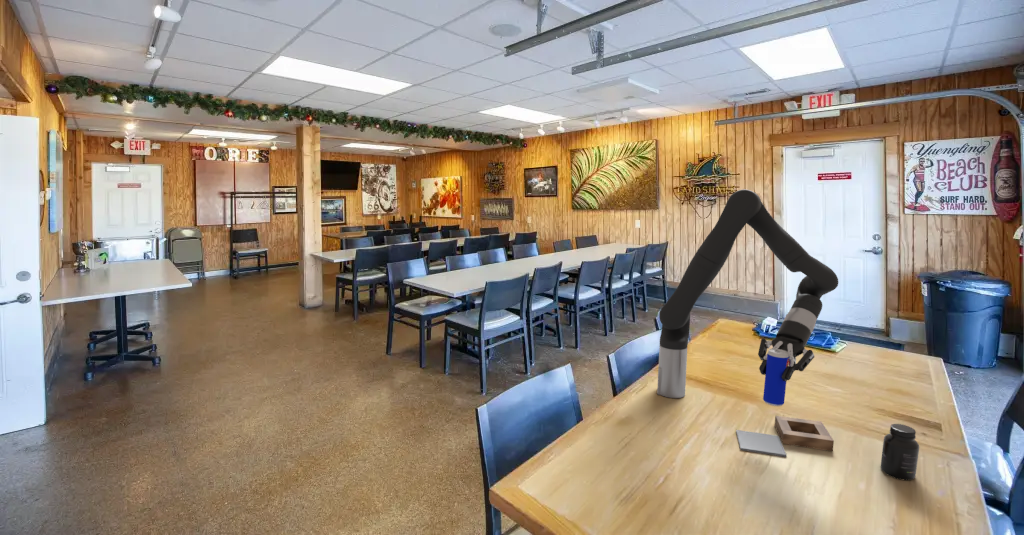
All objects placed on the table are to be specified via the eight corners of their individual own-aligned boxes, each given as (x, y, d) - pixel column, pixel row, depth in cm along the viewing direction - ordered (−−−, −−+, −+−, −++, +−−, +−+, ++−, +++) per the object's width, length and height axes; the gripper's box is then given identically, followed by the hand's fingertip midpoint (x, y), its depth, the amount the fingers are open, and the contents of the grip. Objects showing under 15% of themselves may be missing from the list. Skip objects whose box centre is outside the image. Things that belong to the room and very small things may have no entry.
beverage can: (786, 407, 129) (792, 354, 127) (766, 406, 130) (771, 353, 128) (780, 399, 134) (785, 348, 132) (760, 398, 135) (765, 347, 133)
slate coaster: (740, 449, 129) (740, 447, 129) (736, 431, 139) (736, 429, 139) (786, 457, 126) (786, 454, 126) (778, 437, 136) (778, 435, 136)
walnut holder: (782, 443, 132) (783, 433, 132) (774, 424, 144) (775, 415, 143) (832, 451, 129) (833, 440, 128) (820, 431, 140) (821, 421, 139)
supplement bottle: (873, 466, 121) (878, 421, 119) (898, 465, 122) (903, 420, 120) (897, 482, 114) (902, 435, 113) (923, 480, 115) (929, 433, 113)
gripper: (767, 314, 139) (742, 361, 134) (822, 325, 128) (797, 377, 122) (774, 329, 143) (750, 375, 138) (828, 341, 132) (804, 392, 126)
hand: (772, 376), depth 130 cm, fingers closed on beverage can, 5 cm apart
